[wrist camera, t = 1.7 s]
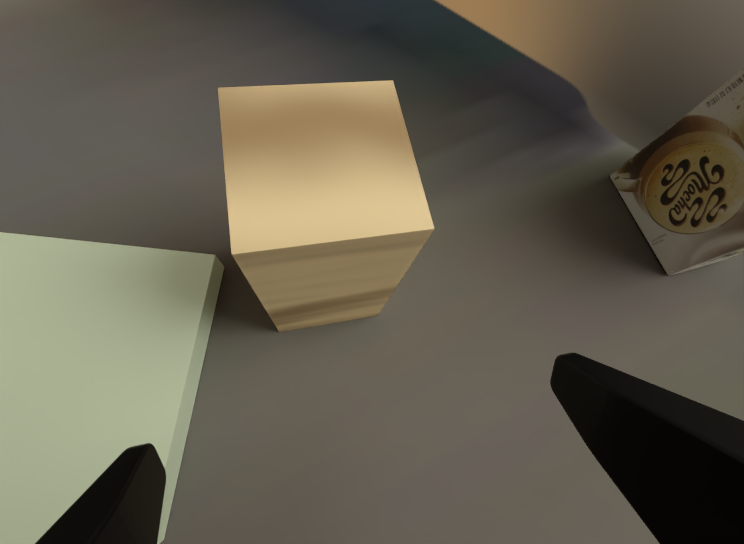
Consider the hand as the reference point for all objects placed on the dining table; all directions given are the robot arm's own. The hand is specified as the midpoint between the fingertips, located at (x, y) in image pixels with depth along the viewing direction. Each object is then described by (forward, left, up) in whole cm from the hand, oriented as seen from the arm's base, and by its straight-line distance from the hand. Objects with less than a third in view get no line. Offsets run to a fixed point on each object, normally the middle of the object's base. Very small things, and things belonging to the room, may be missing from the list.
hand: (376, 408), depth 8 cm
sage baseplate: (0, +15, -13) cm, 20 cm away
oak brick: (+7, +2, -13) cm, 15 cm away
